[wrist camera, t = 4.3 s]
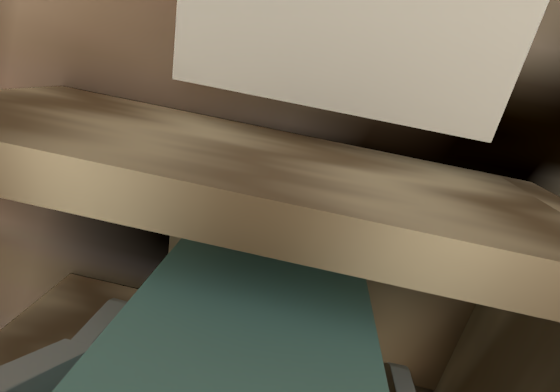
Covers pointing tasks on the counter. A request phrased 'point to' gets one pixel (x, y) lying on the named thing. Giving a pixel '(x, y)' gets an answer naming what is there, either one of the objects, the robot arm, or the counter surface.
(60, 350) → the robot arm
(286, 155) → the channel
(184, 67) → the mat
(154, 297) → the block
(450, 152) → the counter surface
